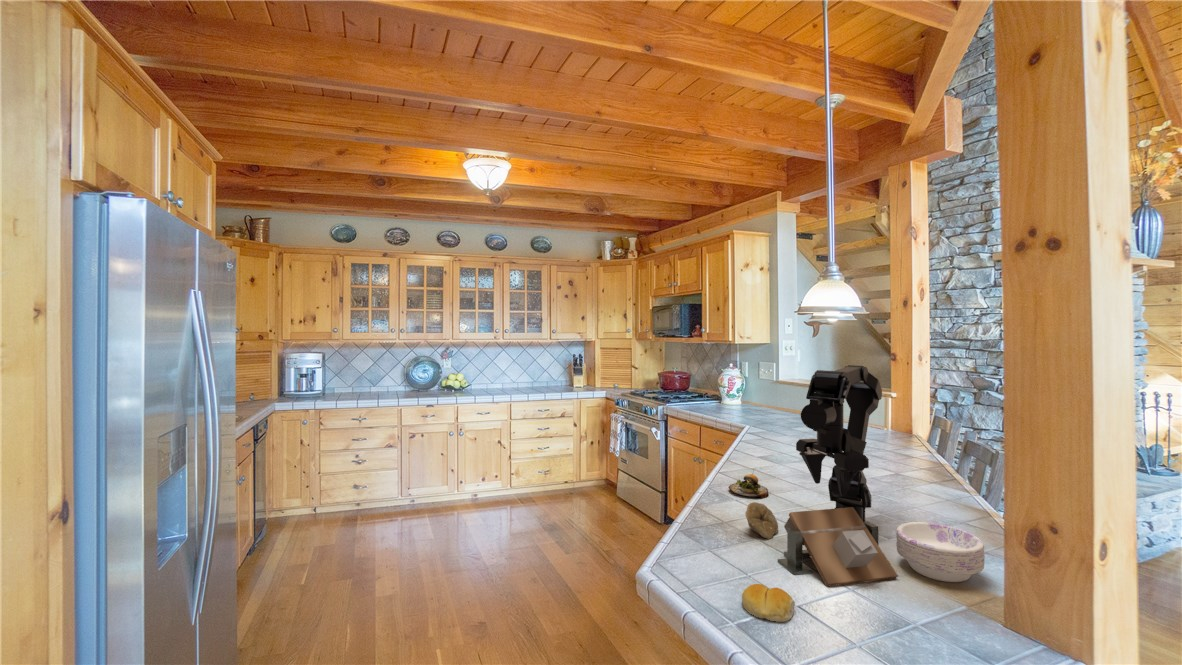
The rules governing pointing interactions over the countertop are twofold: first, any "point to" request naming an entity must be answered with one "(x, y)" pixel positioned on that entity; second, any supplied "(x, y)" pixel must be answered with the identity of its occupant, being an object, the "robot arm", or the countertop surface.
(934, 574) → the paper bowls
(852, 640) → the countertop surface
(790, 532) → the trapdoor frame
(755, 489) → the burger
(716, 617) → the countertop surface
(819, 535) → the trapdoor
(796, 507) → the countertop surface
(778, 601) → the bread roll
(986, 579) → the countertop surface
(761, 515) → the fossil
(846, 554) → the gray block
